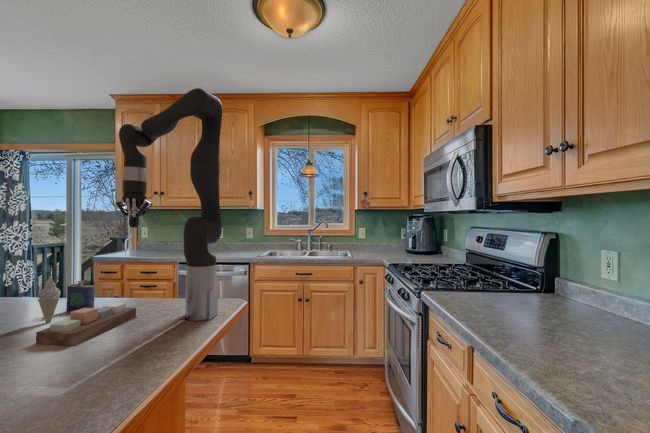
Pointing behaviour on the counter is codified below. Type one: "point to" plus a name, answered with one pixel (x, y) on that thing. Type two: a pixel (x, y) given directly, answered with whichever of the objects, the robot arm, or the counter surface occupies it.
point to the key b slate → (104, 312)
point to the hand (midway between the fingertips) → (133, 227)
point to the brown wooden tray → (85, 330)
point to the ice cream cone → (49, 299)
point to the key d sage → (65, 325)
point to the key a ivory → (116, 306)
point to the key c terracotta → (85, 315)
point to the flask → (80, 296)
